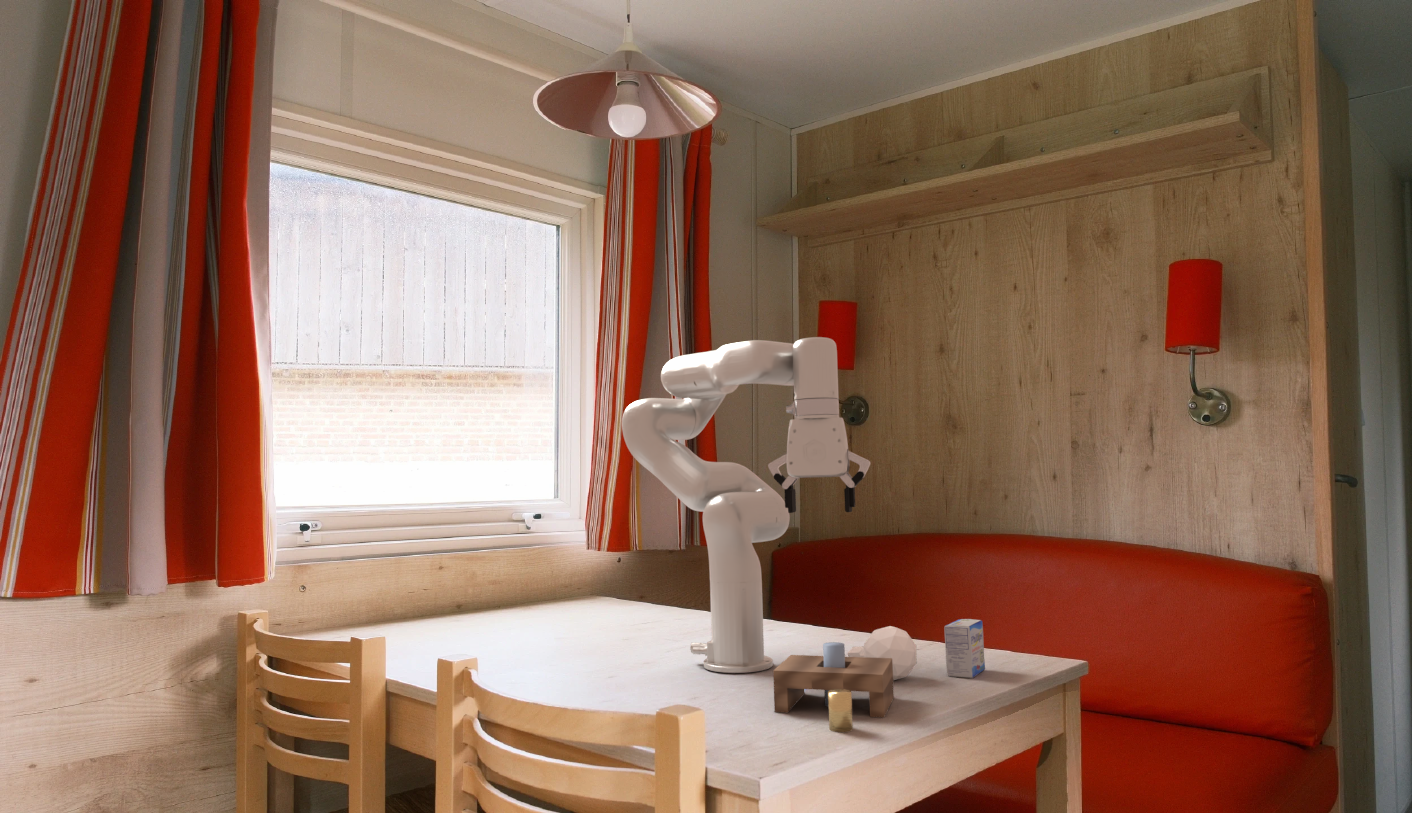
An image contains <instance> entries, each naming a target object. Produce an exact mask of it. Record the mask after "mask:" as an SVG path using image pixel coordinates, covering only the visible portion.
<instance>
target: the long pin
mask: <svg viewBox="0 0 1412 813" xmlns="http://www.w3.org/2000/svg"><path fill="white" fill-rule="evenodd" d="M845 648H846V647H845V643H843V642H839V641H838V642H834V641H833V642H825V643H823V644H822V649H823V655H822V656H824V667H836V668H845V657H846V655H845ZM828 691H829V690H824V706H825V707H828Z"/></svg>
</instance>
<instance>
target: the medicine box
mask: <svg viewBox="0 0 1412 813" xmlns="http://www.w3.org/2000/svg"><path fill="white" fill-rule="evenodd" d="M983 624H984V623H983V620H982V619H972V618H961V619H957V620H955V621H952V622H950V623H949V624H946V625H944V642H945V643H944V644H945V646H944V648H945V661H946V662H945V663H946V664H945V665H946V666H945V667H946V676H947V677H952V678H953V677H954V678H963V679H974V678H975V677H976V676H978V675H979V674H980V673H982V672H983V671H984V670H985V669H986V664H985V663H986V662H985V660H986V659H985V646H984V645H985V644H984V643H985V642H984V626H983Z"/></svg>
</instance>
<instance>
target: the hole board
mask: <svg viewBox="0 0 1412 813" xmlns="http://www.w3.org/2000/svg"><path fill="white" fill-rule="evenodd" d="M772 673H773V675H772V676H773V704H774V706H773V708H774V713H789V712H790V711H791V709H792V708H794V707H795V705H797V703H798V702H799V701H800V699H802V697H803V696H804V695H805V690H813V691H814V690H816V691H817V690H818V691H819V690H820V691H825V690H834V689H845V690H850V691H851V692H859V693H860V692H863V693H868V697H869V698H868V699H869V717H870V718H880V719H881V718H882V719H883V718H885V717H886V715H887V713H888V710H889V709H890V707H891V704H892V702H893V700H894V697H895V696H894V695H895V694H894V691H895V690H894V680H893V665H892V658H869V657H849V656H845V668H836V667H824V656H823V655H804V654H803V655H801V654H790V655H789V656H788V657H787V658H785V660H783V661H782V662H781V663H780V664H778V666H777V667H775V668H774V669H773V671H772Z"/></svg>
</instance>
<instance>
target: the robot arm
mask: <svg viewBox="0 0 1412 813" xmlns="http://www.w3.org/2000/svg"><path fill="white" fill-rule="evenodd" d="M837 349H838V348H837V343H836V342H835V341H834V339H832V338H829V337H822V336H817V337H816V336H813V337H805V338H800V339H798V340H796V341H794V343H790V342H781V341H774V340H773V341H772V340H763V339H762V340H761V339H754V340H753V339H751V340H745V341H739V342H732V343H731V342H730V343H728V344H727V343H726V344H723V345H721V346H720V347H718V348H717V349H714V350H708V351H702V352H701V351H700V352H695V353H689V354H682V355H679V356H678V355H677V356H676V357H674V358H672V359H671V358H670V359H669V360H668V361H667V362H666V363H665V364H664V366H662V370H661V372H660V381H661V384H662V386H663V388H664V389H665V391H666V392H667V393H669V394H670V395H672V396H674V397H676V398H663V397H661V398H660V397H648V398H642V399H638V400H635V401H633V402H632V403H630V404H629V405H628V406H626V408H625V410H624V411H623V414H622V418H621V430H622V436H623V439H624V442H625V445H626V447H627V449H628V452H630V454H631V456H632V457H633V458H634V459H635V460H636V461H637V462H638V463H639V464H640V465H641V466H642V467H643V468H644V469H646V471H647V470H648V472H650V473H651V474H652V475H653V476H655V477H656V478H657V479H658V481H660V482H661V483H662V485H664V486H665V487H666V488H667V489H668V490H669V491H670V492H671V493H672V494H673V495H674V496H675V497H676V498H677V499H679V501H681V503H683V504H684V505H685V506H686V507H687V508H688V509H690V510H692V511H696V512H702V526H703V532H704V536H705V541H706V545H707V554H708V567H709V591H710V592H709V593H710V595H709V596H710V630H711V635H710V636H711V640H709V641H707V642H706V643H704V642H703V643H702V642H691V644H690V647H689V648H690V649H689V650H690V653H691V654H693V655H704V656H705V657H706V658H705V659H704V660H703V667H704V669H706V670H708V671H712V672H716V673H725V674H727V673H728V674H743V673H744V674H745V673H755V672H762V671H765V670H768V669H770V668H772V667H773V665H774V663H773V661H774V660H773V658H772V657H769V656H767V655H765V649H764V648H765V645H764V644H765V643H764V641H765V640H764V614H763V613H764V611H763V610H764V609H763V608H764V607H763V606H764V605H763V580H762V578H763V577H762V566H761V562H760V558H759V556H758V554H757V552H756V550H755V547H754V545H753V543H754V544H755V543H763V542H770V541H774V540H776V539H779V538H780V537H782V536H783V535H784V534H785V533H786V531H787V530H788V528H789V524H790V517H791V515H790V514H792V513H796V511H797V495H796V494H797V493H796V489H795V488H794V485H795V484H796V483H797V481H798V480H799V479H800V478H801V479H803V478H834V477H839V479H841V481H842V482H843V483H844V484H845V487H844V490H843V491H844V492H843V493H844V494H843V496H844V512H846V513H851V512H853V508H855V507H856V487H857V485H859V483H861V482H862V480H864V478H865V477H866V474H867V472H868V471H869V468H870V466H871V461H870V460H869V459H866V458H864V457H862V456H860V455H858V454H856V453H854V452H852V451H851V450H849V445H848V443H849V442H848V436H847V430H846V425H845V421H844V418H843V417H840V409H839V408H840V403H839V399H840V398H839V375H838V374H839V373H838V372H839V371H838V369H839V368H838V350H837ZM748 384H749V385H750V384H751V385H752V384H758V385H759V384H760V385H762V384H763V385H776V386H777V385H778V386H786V387H787V386H792V387H793V398H794V399H793V401H792V403H791V404H790V405H786V406H785V411H786V414H792V415H793V417H794V419H790V420H789V424H788V430H787V432H788V433H787V443H786V453H785V454H783V455H781V456H779V457H778V458H776V459H774V460H772V461H771V462H770V463H768V465H767V467H768V469H769V471H770V473H771V475H772V477H773V479H774V480H775V481H776V482H777V483H778V484H779V485H780V486H781V487H782V489H783V490H784V498H782V496H781V495H780V494H779V493H778V492H777V491H776V490H775V489H774V488H772V487H771V486H770V485H769V484H768V483H767V482H765V481H764V480H763V479H761V478H760V477H759V476H758V475H756V473H754V472H753V471H751V469H750V468H748V467H746V466H745V465H742V464H740V463H736V462H731V461H707V460H704V459H702V458H701V457H699V456H698V455H696V453H694V452H693V451H692V450H691V449H690V448H689V447H687V446H686V445H684V444H682V443H680V442H679V441H687V440H691V439H694V438H695V437H697V436H699V435H700V433H701V432H702V431H703V430H704V429H705V427H706V426H707V424H708V423H709V421H710V420H711V419H712V417H713V415H714V414H715V413H716V411H717V410H718V408H719V407H720V405H721V404H722V403H723V401H724V399H725V398H726V396H727V395H728V394H732V393H734V392H735V391H736V390H737V389H738V387H739V386H740V385H748ZM850 461H851V462H854V464H855V463H856V464H857V465H858V466H859V469H858V471H857V472H856V473H855V474H854V475H853V477H852V476H851V474H850V472H849V471H850V467H851V466H850ZM784 464H785V465H786V472H787V475H788V476H786V477H785V476H784V475H783V474H782V473H781V471H780V467H781V466H783V465H784Z"/></svg>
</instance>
